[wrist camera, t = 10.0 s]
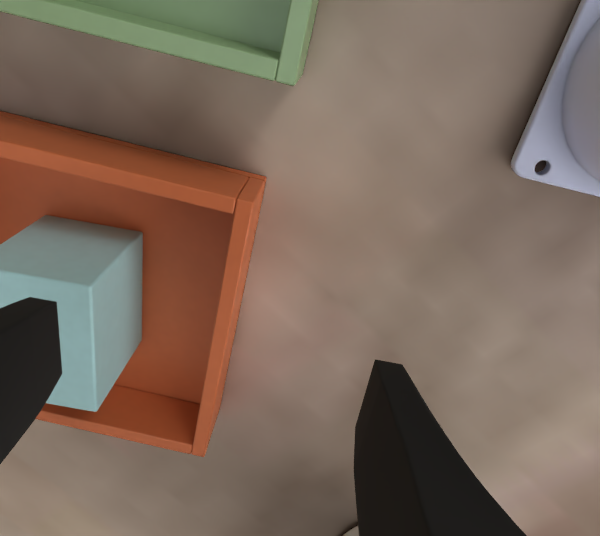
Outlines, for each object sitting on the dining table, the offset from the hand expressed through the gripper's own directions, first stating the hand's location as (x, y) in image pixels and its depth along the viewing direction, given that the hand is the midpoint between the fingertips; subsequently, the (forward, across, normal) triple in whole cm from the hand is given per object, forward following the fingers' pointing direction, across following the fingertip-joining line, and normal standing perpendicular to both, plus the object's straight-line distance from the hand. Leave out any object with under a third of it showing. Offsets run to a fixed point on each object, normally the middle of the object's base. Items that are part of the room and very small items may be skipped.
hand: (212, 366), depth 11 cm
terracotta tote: (+9, +7, +4) cm, 12 cm away
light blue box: (+9, +7, +4) cm, 12 cm away
